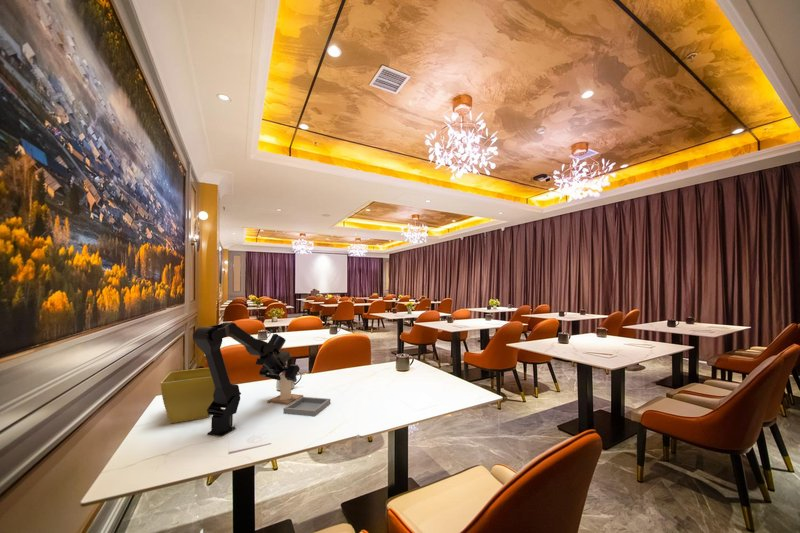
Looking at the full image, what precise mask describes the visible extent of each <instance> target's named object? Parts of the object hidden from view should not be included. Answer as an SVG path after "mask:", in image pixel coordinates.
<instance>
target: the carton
mask: <svg viewBox="0 0 800 533" xmlns="http://www.w3.org/2000/svg"><path fill="white" fill-rule="evenodd" d="M280 378H281V380H280V390H279V392H280V393H279V395H280V400H287V399H291V394H292V381H290V380H287V379H286V378H285V373H280Z"/></svg>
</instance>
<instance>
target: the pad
mask: <svg viewBox="0 0 800 533" xmlns="http://www.w3.org/2000/svg"><path fill="white" fill-rule="evenodd" d="M301 397H304V394H296V393H295V394H294V393H291V399H287V400H280V394H279V395H277V396H275V397H272V398H270V399H268V400H267V401H266V402H267V404H271V403H273V404H277V405H286V406H288V405H290V404H291V403H293V402H294V401H296V400H298V399H299V398H301Z"/></svg>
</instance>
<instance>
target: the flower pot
mask: <svg viewBox="0 0 800 533" xmlns="http://www.w3.org/2000/svg"><path fill="white" fill-rule="evenodd" d="M160 391H161V396H162V402H163V405H164V409H165V412H166V414H167V418H168V419H169V422H170V424H176V423H181V422H186V421H187V422H188V421H194V420H200V419H205V418H208V417H210V415H208V413H207V409H208V407H209V406H210V405H211V403H212V402H213V400H214V398H213V394H214V391H215V385H214V382H213V379H212V376H211V373H210V369H209V367H202V368H193V369H185V370H177V371H170V372H169V373H168V374H167V375H166V376H165V377H164V378H163V380H162V381H160Z"/></svg>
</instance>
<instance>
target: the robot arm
mask: <svg viewBox="0 0 800 533" xmlns="http://www.w3.org/2000/svg"><path fill="white" fill-rule="evenodd" d="M228 337H230V338H231V339H232V340H235V341H236V342H238V343H239V344H240V345H242V346H244V347H245V351H246V352H247V353H248V354H249V355H250V356H256V357H257V358H256V361H255V365H257V366H262V367H261V368H260V370H259V372H258V374H259V375H260V376H261V378H262V377H264V378H267V379H272V380H276V381H281V373H285V378H286V379H287V380H290V381H291V382H293V383H297V381H298V380H297V375H298V373H299V371H300V370H301V369H300V368H301V367H300V366H299V365H298V364H289V366H286V365H287V362H288V361H289V360H290V359H291V358H292V356H291V354H290V351H289V350H281V349H282V348H283V346H284V344H285V343H286V338H284V337H283V336H281V335H279V334H278V333H273V334H272V335H271V338H270V339H269V341H268V342H267V341H265V340H262V339H259V338H255V337H254V336H252V335H251V334H249V333H248V332H247V331H245V330H244V329H243V328H241V327H239V326H238V325H237V324H236V323H235V322H229V321H228V322H227V321H225V322H223V323H219V324H215V325H214V324H213V325H210V326H199V327H198V328H196V329H195V331H194V332H193V334H192V339H193V341H194V343H195V344H196V346H197V347H198V349H200V351H202V352H203V354H204V357H205V359H206V363H207V366H208V368H209V369H210V373H211V376H212V379H213V382H214V385H215V391H214V394H213V398H214V400H213V402H212V403H211V405H210V406H209V407H208V409H207V413H208V415H209V416H211V425H210V427H211V428H210V431H208V432H207V435H209V436H217V437H224V436H225V435H227V434H228V433H230V432H232V431H233V430H235V429H236V426H233V421H234V420H233V418H234V415H235V414H237V411H238V407H239V404H240V401H241V395H242V393H241V392H240V386H239V384H234V383H232V382H231V380H230V377H229V374H228V371H227V366H226V364H225V363H226V362H225V361H224V360H225V359H224V357H223V354H222V350H221V348H222V344H223V339H224V338H228ZM285 366H286V367H285Z"/></svg>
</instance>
